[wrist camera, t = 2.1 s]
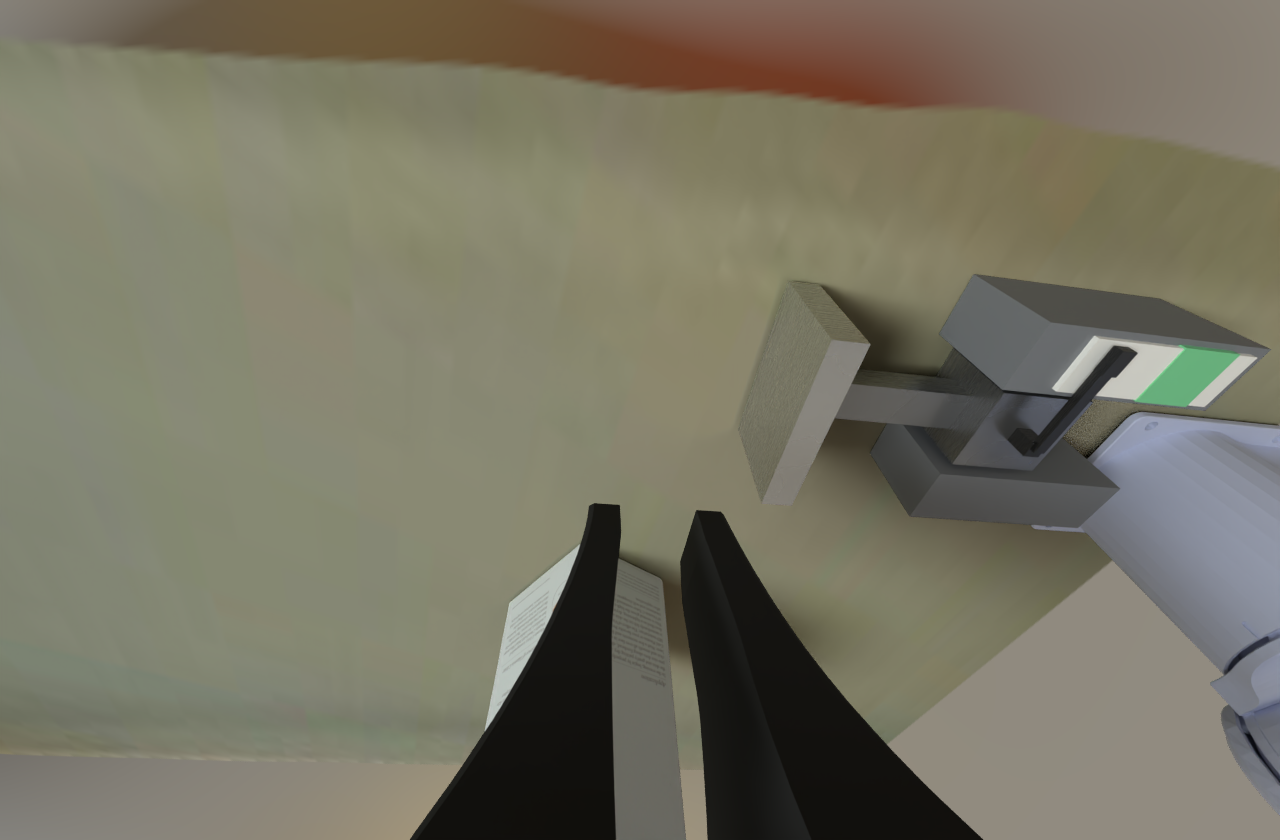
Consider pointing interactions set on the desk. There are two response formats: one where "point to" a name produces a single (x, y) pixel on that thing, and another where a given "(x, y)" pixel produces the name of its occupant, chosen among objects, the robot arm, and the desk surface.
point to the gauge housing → (1058, 392)
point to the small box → (617, 693)
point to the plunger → (888, 400)
